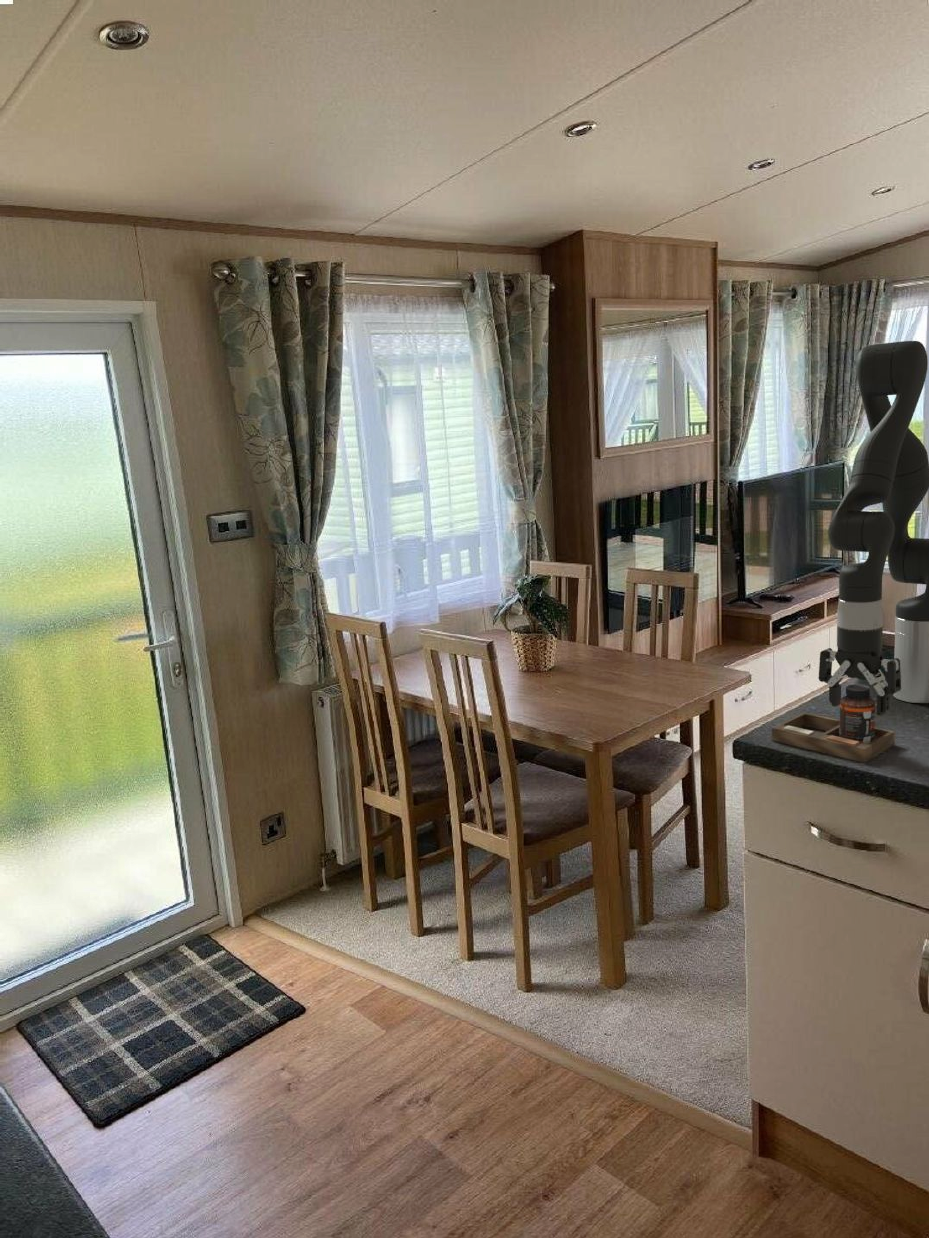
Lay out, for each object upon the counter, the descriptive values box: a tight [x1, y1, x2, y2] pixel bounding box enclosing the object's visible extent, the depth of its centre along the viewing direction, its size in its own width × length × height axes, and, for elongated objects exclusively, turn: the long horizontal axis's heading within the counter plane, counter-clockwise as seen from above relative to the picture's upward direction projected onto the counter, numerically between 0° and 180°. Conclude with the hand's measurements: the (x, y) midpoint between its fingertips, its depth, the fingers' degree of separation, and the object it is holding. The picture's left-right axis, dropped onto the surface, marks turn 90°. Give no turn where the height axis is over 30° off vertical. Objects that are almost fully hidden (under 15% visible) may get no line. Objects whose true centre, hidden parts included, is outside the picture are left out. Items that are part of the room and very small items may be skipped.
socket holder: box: [771, 712, 896, 764], centre depth 176 cm, size 18×11×3 cm, turn 41°
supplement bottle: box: [839, 683, 876, 744], centre depth 172 cm, size 6×6×11 cm
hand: (858, 709), depth 172 cm, fingers open, 8 cm apart
